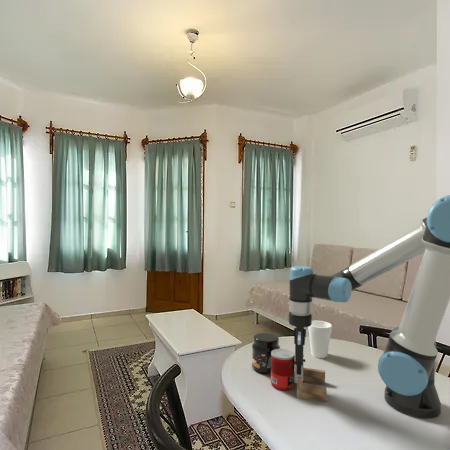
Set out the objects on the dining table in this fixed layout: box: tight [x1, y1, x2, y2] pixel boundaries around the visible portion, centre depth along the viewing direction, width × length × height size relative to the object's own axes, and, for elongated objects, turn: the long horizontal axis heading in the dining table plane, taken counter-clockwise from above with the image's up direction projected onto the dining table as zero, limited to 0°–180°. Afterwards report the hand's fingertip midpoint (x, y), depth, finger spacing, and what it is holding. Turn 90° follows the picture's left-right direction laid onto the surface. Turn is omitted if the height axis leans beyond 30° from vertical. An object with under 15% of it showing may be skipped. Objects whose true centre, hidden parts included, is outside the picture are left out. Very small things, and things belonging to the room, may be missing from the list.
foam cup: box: [307, 320, 333, 359], centre depth 136 cm, size 10×9×13 cm
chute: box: [296, 367, 327, 403], centre depth 109 cm, size 9×13×6 cm
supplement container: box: [251, 332, 281, 375], centre depth 124 cm, size 10×10×12 cm
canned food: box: [270, 348, 295, 391], centre depth 111 cm, size 8×8×11 cm
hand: (298, 382), depth 110 cm, fingers closed
